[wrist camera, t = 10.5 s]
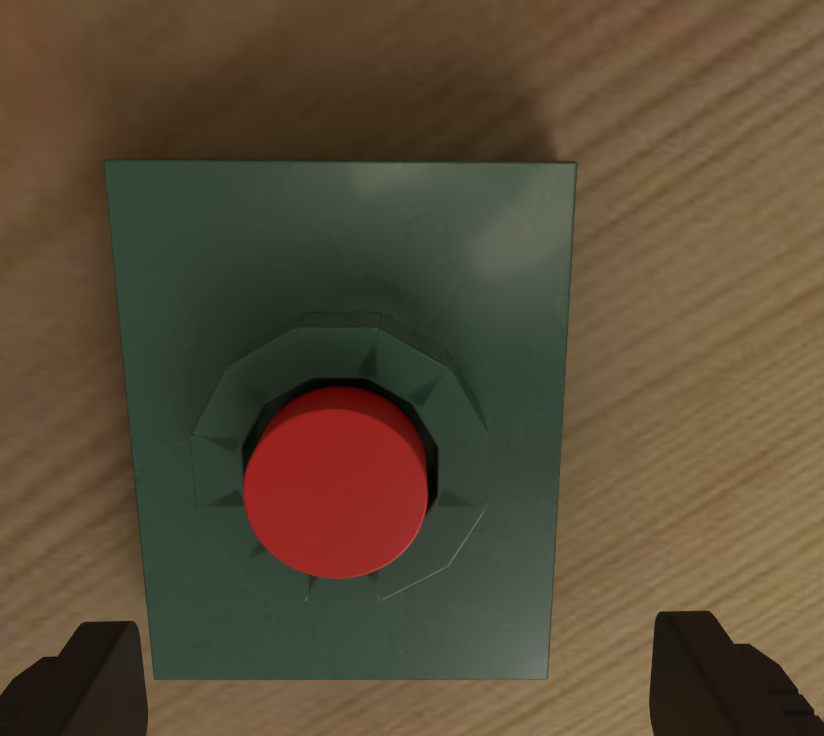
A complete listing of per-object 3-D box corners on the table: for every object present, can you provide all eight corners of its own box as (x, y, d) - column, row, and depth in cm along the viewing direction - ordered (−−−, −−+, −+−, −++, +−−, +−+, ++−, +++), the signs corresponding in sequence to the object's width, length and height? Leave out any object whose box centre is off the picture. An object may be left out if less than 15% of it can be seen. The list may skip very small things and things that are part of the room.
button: (253, 384, 18) (237, 408, 16) (426, 385, 18) (428, 408, 16) (261, 542, 19) (247, 579, 17) (425, 542, 19) (427, 579, 17)
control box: (134, 159, 20) (69, 159, 16) (560, 161, 20) (596, 161, 16) (175, 634, 24) (131, 726, 20) (535, 633, 24) (560, 726, 20)
